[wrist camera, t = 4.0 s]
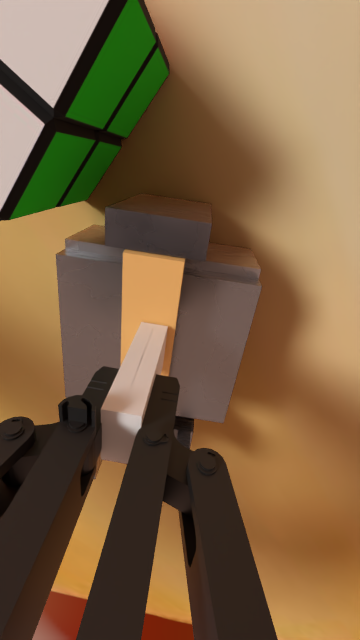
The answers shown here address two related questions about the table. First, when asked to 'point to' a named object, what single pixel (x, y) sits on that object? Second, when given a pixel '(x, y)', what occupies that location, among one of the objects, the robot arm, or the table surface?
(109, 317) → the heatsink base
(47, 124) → the puzzle cube
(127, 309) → the strap
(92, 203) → the table surface
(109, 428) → the robot arm
